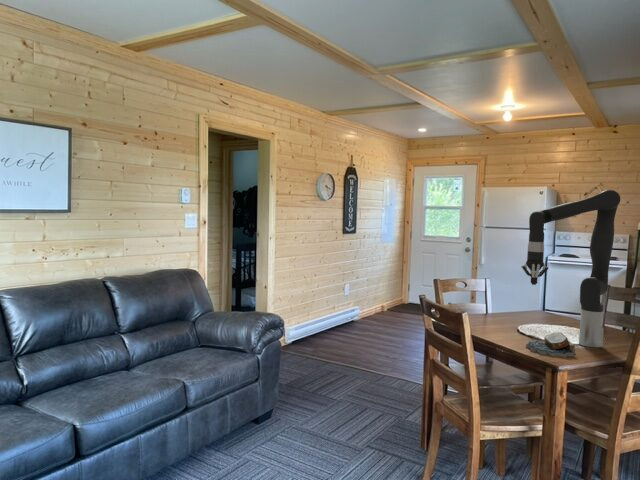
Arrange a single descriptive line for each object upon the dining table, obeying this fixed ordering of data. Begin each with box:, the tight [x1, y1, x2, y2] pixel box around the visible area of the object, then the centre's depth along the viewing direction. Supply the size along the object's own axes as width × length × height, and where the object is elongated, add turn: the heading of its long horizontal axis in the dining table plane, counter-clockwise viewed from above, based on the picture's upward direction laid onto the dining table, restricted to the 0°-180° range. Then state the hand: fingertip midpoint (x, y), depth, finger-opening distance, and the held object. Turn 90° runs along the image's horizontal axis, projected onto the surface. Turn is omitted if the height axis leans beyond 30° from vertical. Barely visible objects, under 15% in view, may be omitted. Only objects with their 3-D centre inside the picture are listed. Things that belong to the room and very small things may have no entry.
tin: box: [543, 332, 570, 349], centre depth 216 cm, size 15×3×8 cm
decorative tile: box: [525, 340, 576, 358], centre depth 215 cm, size 20×20×2 cm
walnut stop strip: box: [565, 340, 576, 351], centre depth 216 cm, size 2×16×2 cm, turn 170°
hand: (533, 284), depth 237 cm, fingers closed
